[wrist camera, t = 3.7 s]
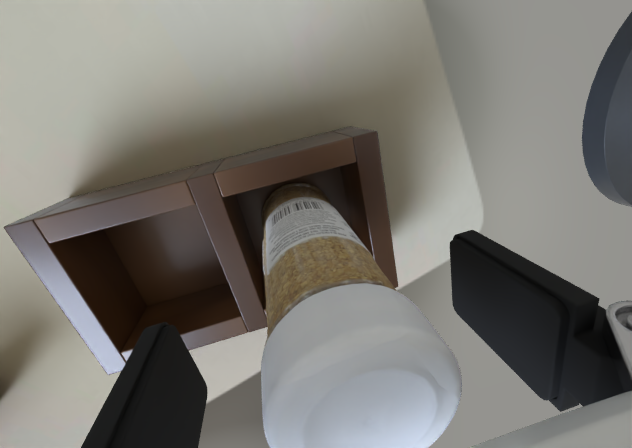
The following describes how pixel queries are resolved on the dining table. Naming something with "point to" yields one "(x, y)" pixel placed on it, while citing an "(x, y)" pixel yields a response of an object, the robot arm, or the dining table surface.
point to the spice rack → (194, 241)
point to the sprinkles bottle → (344, 339)
